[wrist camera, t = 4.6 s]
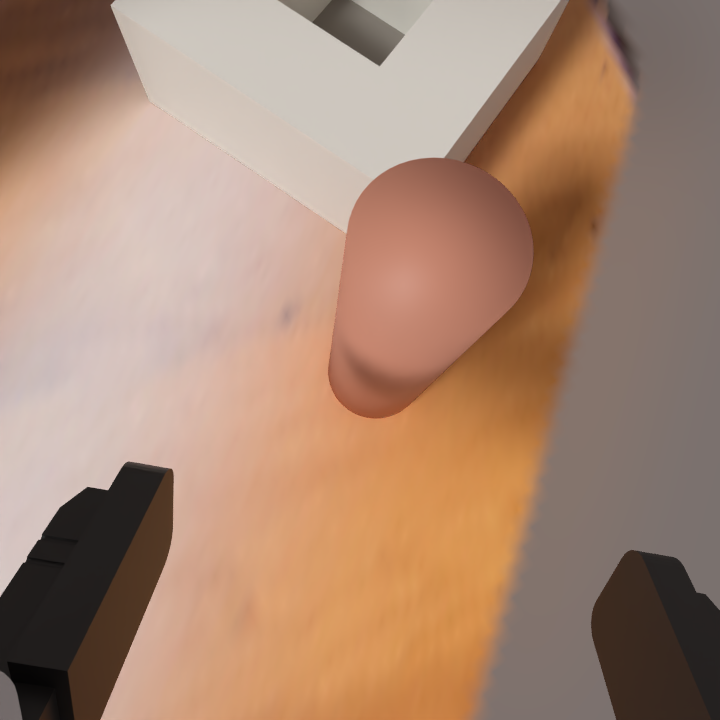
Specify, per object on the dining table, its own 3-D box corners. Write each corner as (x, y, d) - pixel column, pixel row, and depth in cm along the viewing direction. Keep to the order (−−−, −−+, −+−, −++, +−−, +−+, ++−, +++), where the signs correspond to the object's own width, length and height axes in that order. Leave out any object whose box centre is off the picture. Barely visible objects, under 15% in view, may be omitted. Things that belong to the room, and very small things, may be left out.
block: (149, 101, 25) (110, 5, 20) (318, -82, 28) (319, -206, 23) (389, 263, 24) (410, 204, 19) (538, 58, 27) (589, -39, 22)
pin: (309, 382, 23) (308, 262, 11) (363, 308, 24) (413, 124, 12) (388, 437, 23) (470, 372, 11) (439, 360, 23) (567, 224, 12)
